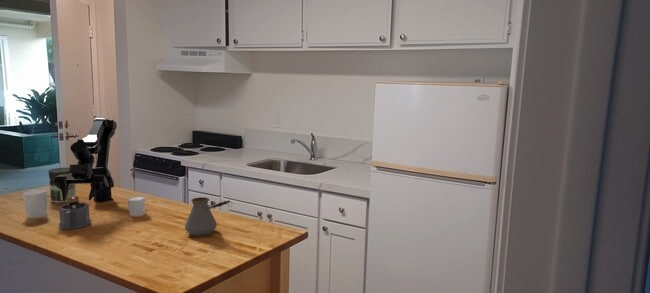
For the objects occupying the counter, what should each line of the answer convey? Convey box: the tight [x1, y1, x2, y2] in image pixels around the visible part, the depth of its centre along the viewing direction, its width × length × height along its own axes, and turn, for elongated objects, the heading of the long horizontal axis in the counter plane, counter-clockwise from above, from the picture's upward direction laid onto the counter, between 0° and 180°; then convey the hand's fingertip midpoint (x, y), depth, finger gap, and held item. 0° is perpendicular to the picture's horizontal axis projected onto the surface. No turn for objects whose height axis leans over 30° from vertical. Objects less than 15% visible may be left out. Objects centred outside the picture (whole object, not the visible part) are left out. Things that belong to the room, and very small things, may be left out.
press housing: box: [58, 202, 92, 231], centre depth 169 cm, size 13×11×8 cm
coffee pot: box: [184, 196, 233, 237], centre depth 160 cm, size 21×12×15 cm, turn 57°
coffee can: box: [47, 167, 77, 204], centre depth 203 cm, size 10×10×14 cm
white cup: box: [23, 189, 48, 219], centre depth 180 cm, size 8×8×10 cm
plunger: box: [68, 195, 80, 209], centre depth 169 cm, size 7×7×8 cm
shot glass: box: [127, 195, 146, 218], centre depth 184 cm, size 7×7×7 cm
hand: (76, 200), depth 172 cm, fingers open, 9 cm apart
